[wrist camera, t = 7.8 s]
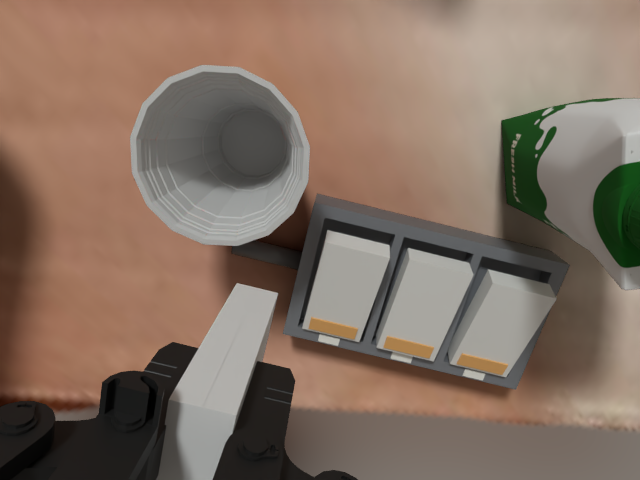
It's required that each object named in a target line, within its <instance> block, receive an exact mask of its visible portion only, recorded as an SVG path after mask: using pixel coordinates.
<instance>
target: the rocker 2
mask: <svg viewBox="0 0 640 480" xmlns="http://www.w3.org/2000/svg"><path fill="white" fill-rule="evenodd" d="M472 277H473V272H472V269H471V267H470V264H469V263H468V262H464V261H460V260H455V259H451V258H447V257H443V256H439V255H435V254H431V253H427V252H423V251H419V250H415V249H411V248H408V249H407V252H406V254H405V257H404V260H403V263H402V265H401V268H400V271H399V273H398V276H397V279H396V282H395V284H394V287H393V290H392V293H391V295H390V298H389V301H388V303H387V306H386V309H385V312H384V314H383V317H382V320H381V323H380V325H379V328H378V331H377V333H376V343H377V348H380V349H384V350H388V351H392V352H397V353H401V354H405V355H409V356H413V357H417V358H422V359H426V360H430V361H434V360H435V357H436V355H437V353H438V351H439V349H440V347H441V344H442V342H443V340H444V338H445V336H446V334H447V331H448V329H449V327H450V325H451V323H452V321H453V318H454V316H455V314H456V312H457V310H458V308H459V306H460V303H461V301H462V299H463V297H464V295H465V293H466V290H467V288H468V286H469V284H470V282H471V280H472Z"/></svg>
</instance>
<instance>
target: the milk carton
mask: <svg viewBox="0 0 640 480" xmlns="http://www.w3.org/2000/svg"><path fill="white" fill-rule="evenodd" d="M502 136H503V151H504V167H505V182H506V197H507V204H509V205H511V206H513V207H515V208H517V209H519V210H521V211H523V212H525V213H527V214H529V215H531V216H533V217H535V218H537V219H539V220H541V221H543V222H544V223H546V224H548V225H549V226H551V227H552V228H554V229H556V230H557V231H559V232H561V233H562V234H564V235H565V236H567V237H569V238H570V239H572V240H573V241H575V242H576V243H578V244H580V245H581V246H583V247H584V248H586V249H588V250H589V251H591V252H592V254H593V255H594V256H595V257H596V259H597V260H598V261H599V262H600V263H601V265H602V266H603V267H604V268H605V269H606V271H607V272H608V273H609V274H610V276H611V277H612V278H613V279H614V280H615V282H616V283H617V284H618V285H619V286H620V288H621V289H624V290H633V289H640V98H606V99H592V100H586V101H580V102H575V103H569V104H564V105H559V106H554V107H550V108H545V109H542V110H538V111H535V112H531V113H528V114H524V115H521V116H517V117H513V118H510V119H506V120H502Z"/></svg>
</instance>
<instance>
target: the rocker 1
mask: <svg viewBox="0 0 640 480" xmlns="http://www.w3.org/2000/svg"><path fill="white" fill-rule="evenodd" d="M389 259H390V245H387V244H382V243H378V242H374V241H370V240H366V239H362V238H358V237H354V236H350V235H346V234H342V233H338V232H333V231H329V230H327V234H326V237H325V241H324V245H323V249H322V252H321V256H320V260H319V264H318V268H317V271H316V275H315V279H314V283H313V286H312V290H311V294H310V298H309V302H308V305H307V309H306V313H305V317H304V322H303V327H302V329H306V330H310V331H315V332H319V333H323V334H327V335H331V336H335V337H340V338H344V339H348V340H352V341H356V342H359V341H360V339H361V336H362V333H363V330H364V328H365V325H366V322H367V319H368V317H369V314H370V311H371V308H372V306H373V303H374V300H375V298H376V295H377V292H378V289H379V287H380V284H381V281H382V278H383V276H384V273H385V270H386V268H387V265H388V262H389Z"/></svg>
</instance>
